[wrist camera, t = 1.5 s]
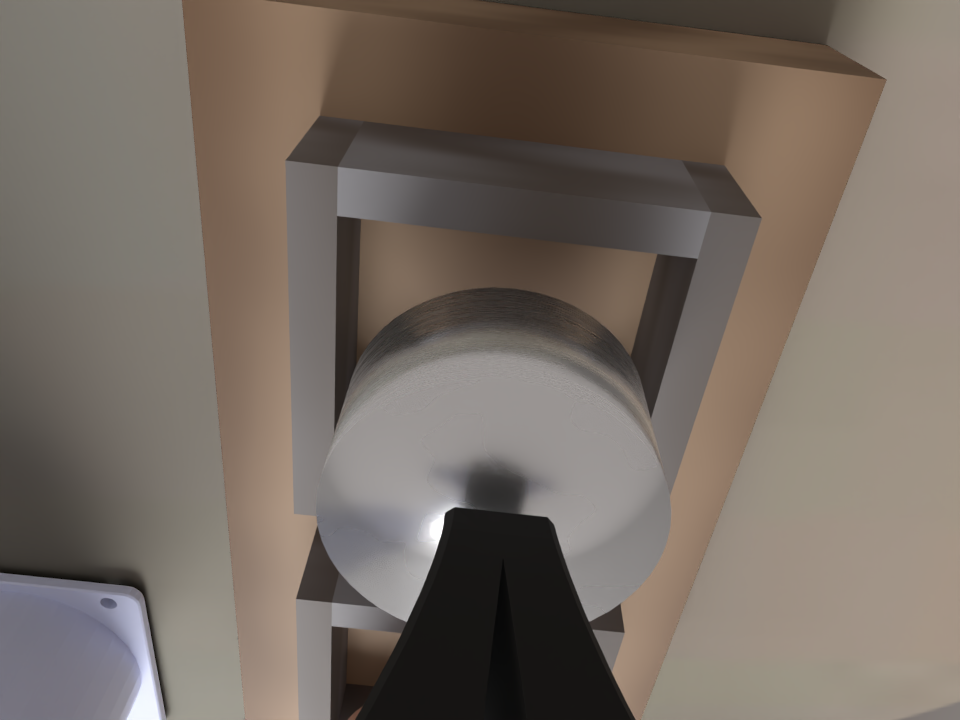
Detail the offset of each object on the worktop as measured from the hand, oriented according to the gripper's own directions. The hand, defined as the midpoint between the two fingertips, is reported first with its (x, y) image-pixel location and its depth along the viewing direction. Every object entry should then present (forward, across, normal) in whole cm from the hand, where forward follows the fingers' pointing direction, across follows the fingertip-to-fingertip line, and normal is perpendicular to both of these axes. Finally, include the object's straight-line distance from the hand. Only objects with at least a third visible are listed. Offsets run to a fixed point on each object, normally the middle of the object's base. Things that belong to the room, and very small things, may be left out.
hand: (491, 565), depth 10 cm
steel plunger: (+3, 0, 0) cm, 3 cm away
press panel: (+10, 0, +5) cm, 11 cm away
